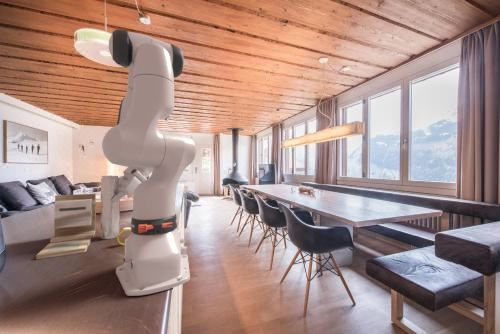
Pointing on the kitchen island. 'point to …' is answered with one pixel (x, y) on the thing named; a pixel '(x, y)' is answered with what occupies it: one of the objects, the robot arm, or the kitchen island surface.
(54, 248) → the dock pad
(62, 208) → the mounted unit
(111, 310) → the kitchen island surface
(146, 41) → the robot arm
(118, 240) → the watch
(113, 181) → the white tall cylinder
